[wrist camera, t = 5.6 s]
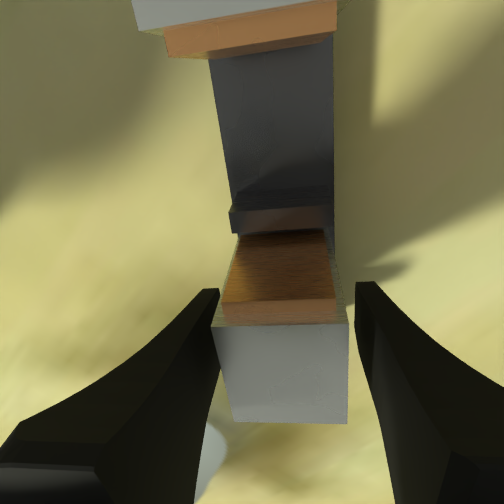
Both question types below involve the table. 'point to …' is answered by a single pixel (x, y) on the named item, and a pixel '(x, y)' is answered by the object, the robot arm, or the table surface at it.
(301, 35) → the rail
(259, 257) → the grey and orange block
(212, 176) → the table surface
